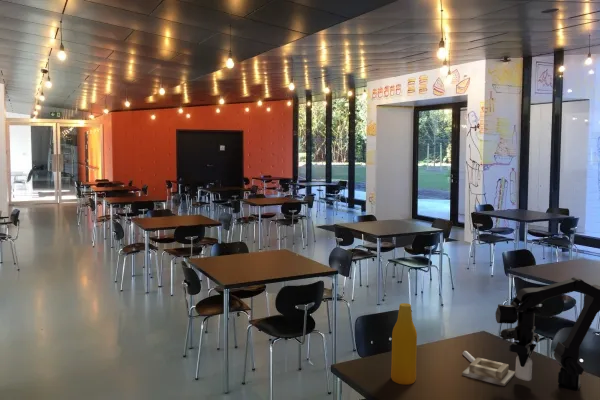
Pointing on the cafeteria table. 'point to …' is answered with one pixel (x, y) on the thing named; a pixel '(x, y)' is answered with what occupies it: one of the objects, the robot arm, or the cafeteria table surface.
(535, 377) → the cafeteria table surface
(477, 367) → the collar block
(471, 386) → the cafeteria table surface
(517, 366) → the eye dropper bottle
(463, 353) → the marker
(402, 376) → the beer bottle
